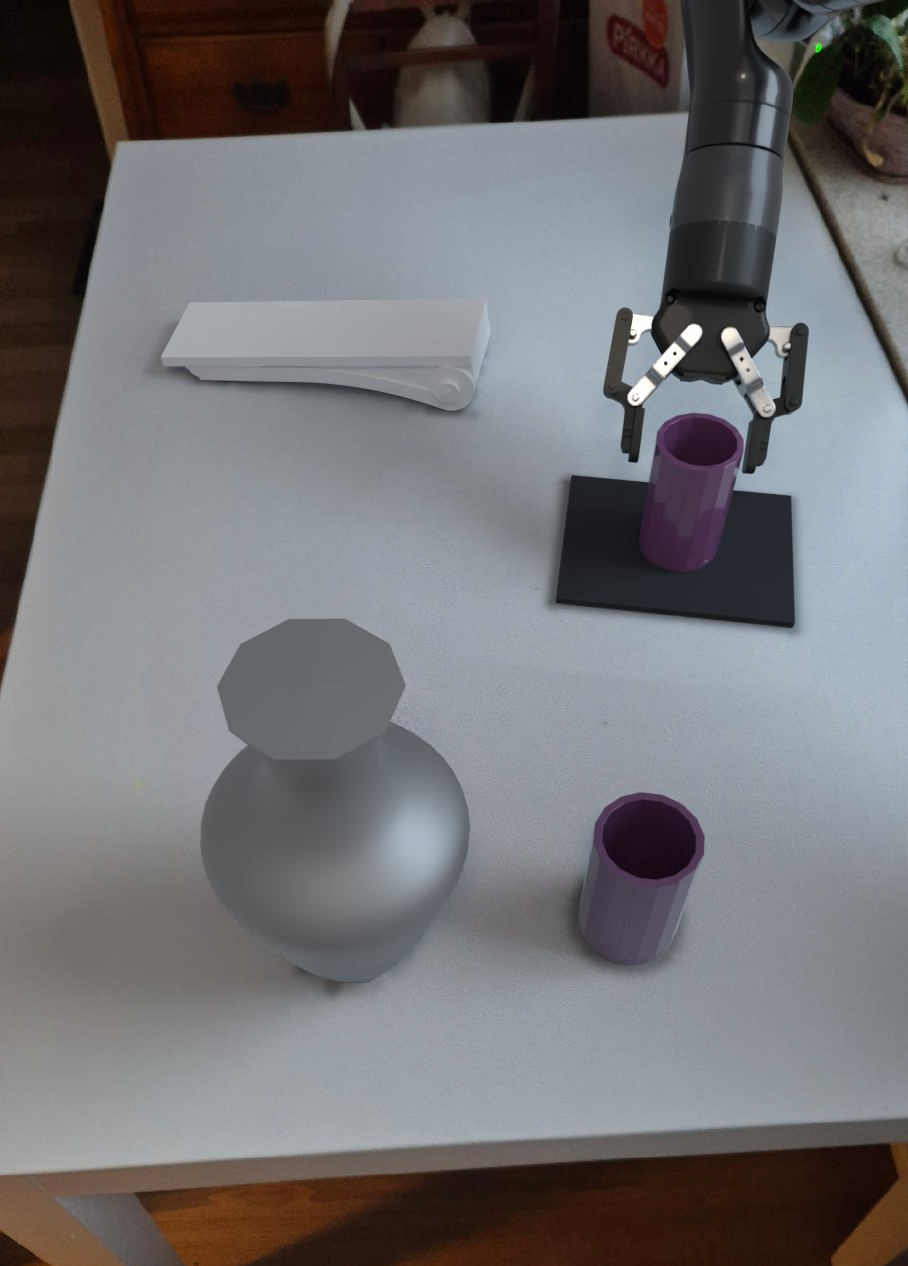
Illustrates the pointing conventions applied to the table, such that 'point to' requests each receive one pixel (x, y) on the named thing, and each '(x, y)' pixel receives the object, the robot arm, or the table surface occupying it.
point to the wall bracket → (340, 344)
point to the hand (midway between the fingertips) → (690, 467)
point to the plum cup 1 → (689, 491)
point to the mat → (625, 580)
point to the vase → (330, 804)
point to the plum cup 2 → (639, 876)
